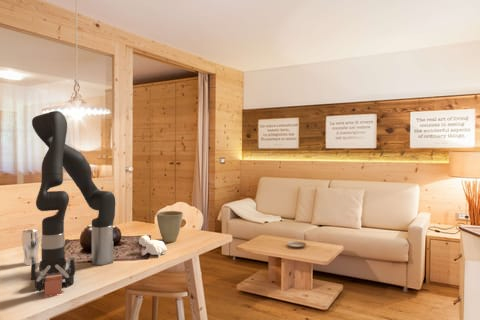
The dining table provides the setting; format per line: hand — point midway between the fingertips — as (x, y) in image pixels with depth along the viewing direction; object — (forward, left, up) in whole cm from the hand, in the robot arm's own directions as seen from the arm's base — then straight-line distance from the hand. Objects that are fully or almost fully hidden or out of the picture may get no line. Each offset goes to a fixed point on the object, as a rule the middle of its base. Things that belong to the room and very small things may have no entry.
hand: (53, 288), depth 128 cm
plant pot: (-55, -54, -2) cm, 77 cm away
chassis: (0, -14, -1) cm, 14 cm away
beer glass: (+12, -39, -2) cm, 41 cm away
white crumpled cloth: (-42, -33, -2) cm, 53 cm away
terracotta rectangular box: (0, 0, -1) cm, 1 cm away
